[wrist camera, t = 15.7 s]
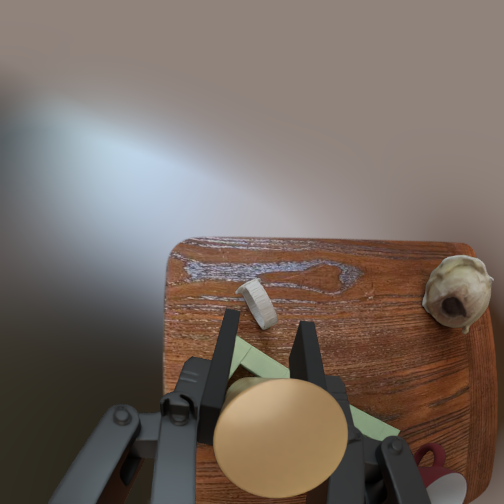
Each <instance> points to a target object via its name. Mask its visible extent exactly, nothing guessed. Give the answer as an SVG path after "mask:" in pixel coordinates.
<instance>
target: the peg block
mask: <svg viewBox="0 0 504 504" xmlns="http://www.w3.org/2000/svg"><path fill="white" fill-rule="evenodd" d="M239 365H240V366H242V367H243V368H245V369H246V370H248V371H249V372H251V373H252V374H254V375H255V376H257V377H261V378H290V371H289V369H288V368H286V367H284V366H283V365H281V364H280V363H278V362H277V361H275V360H273V359H272V358H270V357H269V356H267V355H266V354H264V353H262V352H261V351H259V350H258V349H256V348H255V347H253V346H252V345H250V344H249V343H247V342H246V341H244V340H243V339H241V338H240V337H238V336H237V335H236V341H235V347H234V353H233V358H232V364H231V369H230V374H229V379H230V377H231V376H232V375H233V373H234V372H235V370H236V369H237V368H238V366H239ZM350 409H351V414H352V418H353V422H354V426H355V427H356V428H358V429H359V430H360V431H361V432H362V434H363V436H365V437H368V438H371V439H375V440H380V441H383V440H384V439H385V438H386V437H388V436H391V435H392V436H397V435H398V433H399V432H400V430H398V429H396V428H394V427H392V426H390V425H388V424H386V423H384V422H382V421H380V420H378V419H376V418H374V417H372V416H370V415H368V414H366V413H364V412H362V411H361V410H359V409H357V408H355V407H353V406H351V405H350Z"/></svg>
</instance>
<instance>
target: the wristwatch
mask: <svg viewBox="0 0 504 504" xmlns="http://www.w3.org/2000/svg"><path fill="white" fill-rule="evenodd" d="M260 281H261V280H260V278H255V279H252V280H250V281H248V282H246V283H244V284H243V285H241V286H240V287H239V288H238V289H237V291H236V292H235V293H236V294H237V293H241V294H242V295H244V298H245V300H246V303H247V305H249V306H248V307H249V309H250V311H251V313H252V315H253V316H254V318H255V319H256V321H257V322H258V324H259V325H260V327H261V328H262V329H263V330H265V329H267V328H269V327H271V326H272V325H274V324H276V323H277V321H278V319H277V315H276V313H275V310H274V308H273V305H272V303H271V302H270V299H269V297H268V296H267V293H266V292H265V290H264V288H263V287H262V285H261V284H260Z"/></svg>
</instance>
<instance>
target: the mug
mask: <svg viewBox="0 0 504 504" xmlns="http://www.w3.org/2000/svg"><path fill="white" fill-rule="evenodd" d="M428 451H432V452H433V454H434V463H433V465H432V467H418V464H419V462H420V461H421V459H422V458H423V456H424V455H425V454H426V453H427V452H428ZM445 459H446V454H445V450H444V449H443V447H442V446H441V445H439V444H436V443H428V444H425V445H423V446H422V447H420V448H419V449H418V450H417V452H416V453H415V455H414V460H415V462H416V465H417V467H418V470H419V472H420V475H421V477H422V480H423V482H424V485H425V488H426V490H427V493H428V496H429V498H430V501H431V504H463V501H464V499H465V496H466V492H467V481H466V479H465V477H464V476H463V475H462V474H461V473H459V472H455V471H452V470H449V469H446V468H444V467H443V466H444V463H445Z"/></svg>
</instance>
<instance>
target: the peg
mask: <svg viewBox="0 0 504 504" xmlns="http://www.w3.org/2000/svg"><path fill="white" fill-rule="evenodd" d="M347 441H348V428H347V422H346V418H345V415H344V413H343V411H342V409H341V407H340V405H339V404H338V402H337V401H336V400H335V399H334V398H333V397H332V396H331V395H330V394H329V393H328V392H327V391H325V390H324V389H322V388H321V387H319V386H317V385H315V384H313V383H310V382H307V381H304V380H299V379H291V378H261V377H245V378H242V379H239V380H237V381H236V382H234V383H233V384H232V385H231V386H230V388H229V389H228V391H227V394H226V397H225V400H224V403H223V406H222V409H221V412H220V415H219V417H218V420H217V423H216V427H215V430H214V436H213V449H214V455H215V458H216V461H217V463H218V465H219V467H220V469H221V471H222V472H223V473H224V475H225V476H226V477H227V478H228V479H229V480H230V481H231V482H232V483H233V484H234V485H236V486H237V487H239V488H240V489H242V490H244V491H246V492H248V493H251V494H253V495H257V496H260V497H266V498H287V497H292V496H297V495H300V494H303V493H305V492H308V491H310V490H312V489H314V488H315V487H317V486H319V485H320V484H321V483H323V482H324V481H325V480H326V479H327V478H328V477H329V476H331V475H332V473H333V472H334V471H335V470H336V468H337V467H338V465H339V464H340V462H341V460H342V458H343V456H344V453H345V450H346V447H347Z"/></svg>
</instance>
